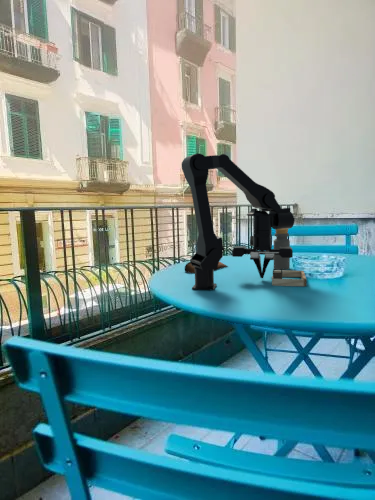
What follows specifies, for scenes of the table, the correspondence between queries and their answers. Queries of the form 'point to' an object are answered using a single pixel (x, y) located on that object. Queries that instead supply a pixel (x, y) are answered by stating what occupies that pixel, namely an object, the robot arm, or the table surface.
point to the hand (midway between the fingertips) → (261, 278)
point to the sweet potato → (191, 269)
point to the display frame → (290, 281)
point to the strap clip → (277, 274)
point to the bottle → (279, 242)
